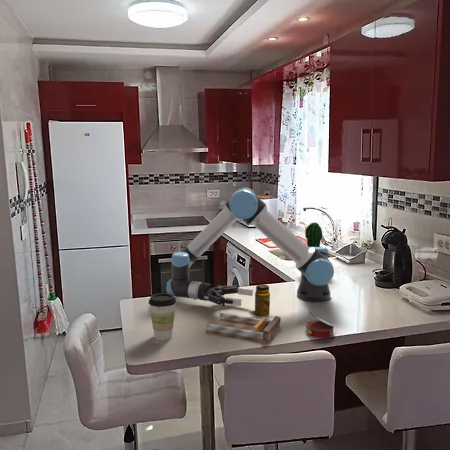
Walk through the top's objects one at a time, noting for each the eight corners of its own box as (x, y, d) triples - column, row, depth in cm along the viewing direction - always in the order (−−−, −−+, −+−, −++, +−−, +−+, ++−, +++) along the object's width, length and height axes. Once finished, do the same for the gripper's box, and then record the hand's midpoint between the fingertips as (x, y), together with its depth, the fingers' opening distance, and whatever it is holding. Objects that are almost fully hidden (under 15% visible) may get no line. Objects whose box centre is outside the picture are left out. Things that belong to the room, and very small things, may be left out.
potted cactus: (316, 272, 247) (318, 218, 242) (332, 279, 233) (335, 222, 228) (292, 275, 242) (293, 220, 237) (307, 282, 228) (309, 224, 223)
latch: (253, 335, 160) (253, 327, 160) (262, 325, 170) (262, 317, 169) (256, 335, 160) (256, 327, 159) (265, 325, 169) (265, 317, 169)
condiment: (272, 316, 182) (273, 287, 180) (252, 318, 180) (253, 289, 178) (266, 310, 189) (267, 282, 187) (247, 311, 187) (247, 284, 185)
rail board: (205, 332, 165) (205, 321, 164) (221, 318, 179) (222, 308, 178) (268, 343, 156) (268, 331, 155) (280, 328, 169) (280, 317, 169)
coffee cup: (145, 341, 157) (144, 300, 155) (154, 330, 167) (153, 291, 164) (172, 343, 156) (172, 302, 153) (180, 332, 165) (179, 293, 163)
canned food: (308, 340, 170) (309, 313, 173) (335, 341, 166) (335, 314, 170) (302, 336, 160) (302, 308, 164) (330, 338, 157) (330, 309, 160)
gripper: (212, 291, 205) (256, 297, 197) (187, 308, 183) (235, 316, 174) (212, 275, 204) (256, 280, 196) (186, 290, 181) (235, 297, 173)
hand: (247, 297), depth 185 cm, fingers open, 13 cm apart
